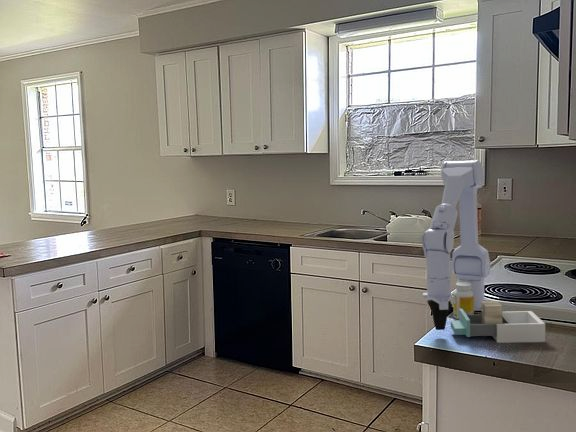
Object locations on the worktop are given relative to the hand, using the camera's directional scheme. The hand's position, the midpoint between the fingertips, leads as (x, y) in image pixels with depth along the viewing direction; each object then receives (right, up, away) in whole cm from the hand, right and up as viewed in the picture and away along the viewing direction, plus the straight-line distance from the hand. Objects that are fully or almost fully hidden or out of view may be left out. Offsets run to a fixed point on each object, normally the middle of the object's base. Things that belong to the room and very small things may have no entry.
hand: (439, 328), depth 136 cm
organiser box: (+18, -1, -2) cm, 18 cm away
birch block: (+13, +1, -2) cm, 13 cm away
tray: (+10, 0, -1) cm, 10 cm away
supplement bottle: (+10, 0, +13) cm, 17 cm away
